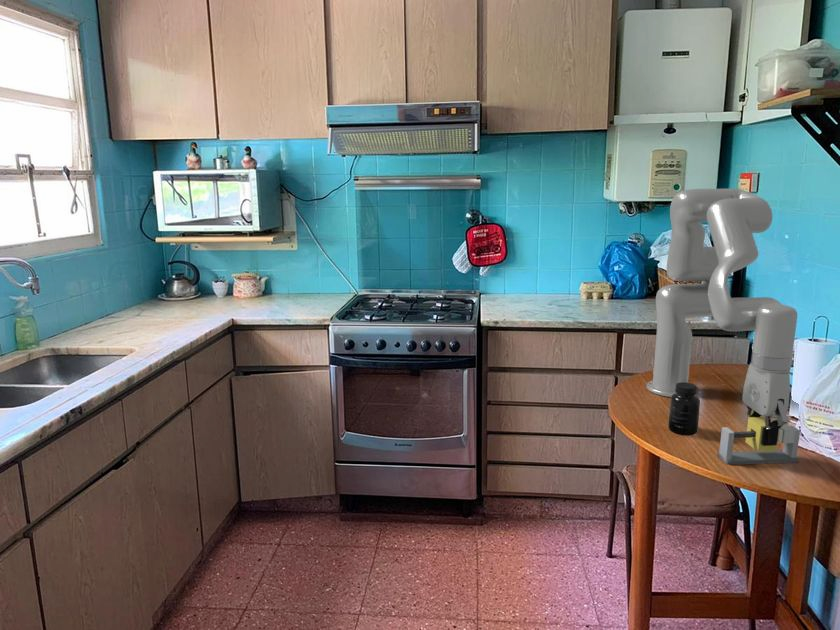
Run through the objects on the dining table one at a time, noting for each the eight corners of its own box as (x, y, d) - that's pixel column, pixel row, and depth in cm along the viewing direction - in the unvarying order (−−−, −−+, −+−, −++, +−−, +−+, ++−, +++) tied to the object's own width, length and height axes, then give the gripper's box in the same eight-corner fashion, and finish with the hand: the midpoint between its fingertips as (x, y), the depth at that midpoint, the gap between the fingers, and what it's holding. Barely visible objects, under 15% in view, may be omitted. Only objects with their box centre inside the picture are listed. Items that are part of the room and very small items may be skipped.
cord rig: (717, 455, 140) (720, 424, 138) (785, 453, 141) (790, 422, 139) (727, 464, 136) (730, 432, 134) (798, 462, 137) (802, 430, 135)
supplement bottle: (672, 422, 158) (676, 378, 156) (700, 429, 154) (705, 384, 151) (663, 431, 153) (667, 386, 150) (692, 438, 149) (697, 392, 146)
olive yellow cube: (745, 441, 140) (748, 417, 139) (762, 441, 140) (765, 416, 139) (757, 451, 135) (761, 426, 134) (775, 451, 135) (779, 425, 134)
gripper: (733, 350, 141) (725, 424, 145) (777, 375, 125) (766, 457, 129) (765, 349, 141) (756, 423, 146) (813, 374, 125) (802, 456, 129)
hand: (761, 438), depth 137 cm, fingers closed on olive yellow cube, 5 cm apart
